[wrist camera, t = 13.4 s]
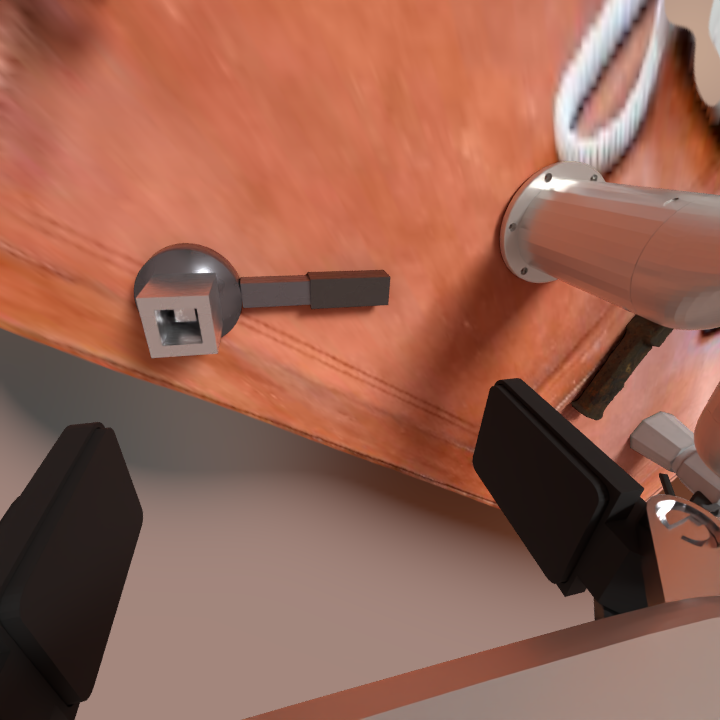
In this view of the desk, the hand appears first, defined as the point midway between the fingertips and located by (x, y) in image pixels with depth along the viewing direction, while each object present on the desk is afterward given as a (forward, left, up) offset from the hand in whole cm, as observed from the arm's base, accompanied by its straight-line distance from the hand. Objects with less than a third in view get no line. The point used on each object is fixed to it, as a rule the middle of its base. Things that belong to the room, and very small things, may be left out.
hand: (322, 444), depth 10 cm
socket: (+8, +6, -28) cm, 30 cm away
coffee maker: (-61, +35, -31) cm, 77 cm away
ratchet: (+1, +6, -30) cm, 31 cm away
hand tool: (-46, +18, -31) cm, 58 cm away
